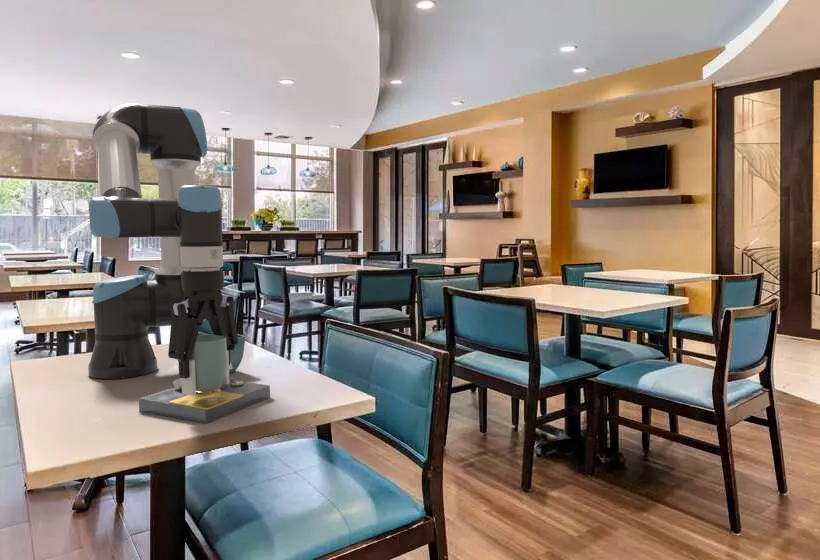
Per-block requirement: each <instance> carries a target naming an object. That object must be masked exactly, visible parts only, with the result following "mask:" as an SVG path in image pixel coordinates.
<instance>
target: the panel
mask: <svg viewBox="0 0 820 560" xmlns="http://www.w3.org/2000/svg"><path fill="white" fill-rule="evenodd" d="M229 381H230V383H229V384H223V386H222V387H221V388H219V389H218V390H216V391H212V392H196V395H194V396H191V395H185V394H182V387H180V388H177V389H175V387H174V386H173V387H171V388H168V389H167V388H166V389H164V390H160V391H159V392H154V393H152V394H148V395H146V396H142V397H139V398H138V412H142V413H147V414H153V415H158V416H164V417H169V418H173V419H179V420H184V421H190V422H193V423H194V422H195V423H200V424H204V425H206V424H208V423H211V422H213V421H216V420H218V419H221V418H223V417H226V416H228V415H230V414H232V413H235V412H237V411H240V410H243V409H245V408H248V407H250V406H253V405H255V404H257V403H260V402H262V401H266V400H267V399H269V398H271V386H270V385H269V384H268V385H267V384H263V383H256V382H248V381H243V380H233V379H229Z"/></svg>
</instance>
